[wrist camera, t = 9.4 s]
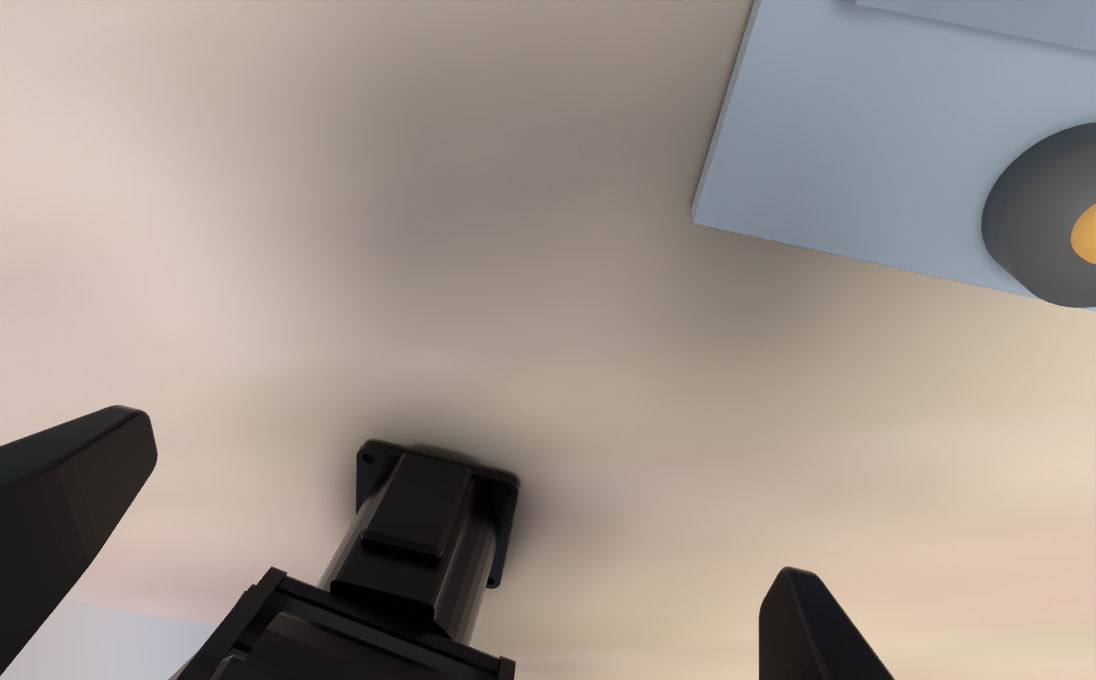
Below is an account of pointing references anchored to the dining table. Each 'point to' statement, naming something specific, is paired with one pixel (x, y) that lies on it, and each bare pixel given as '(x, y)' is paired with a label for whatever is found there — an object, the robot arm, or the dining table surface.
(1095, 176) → the chassis
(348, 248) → the dining table surface
